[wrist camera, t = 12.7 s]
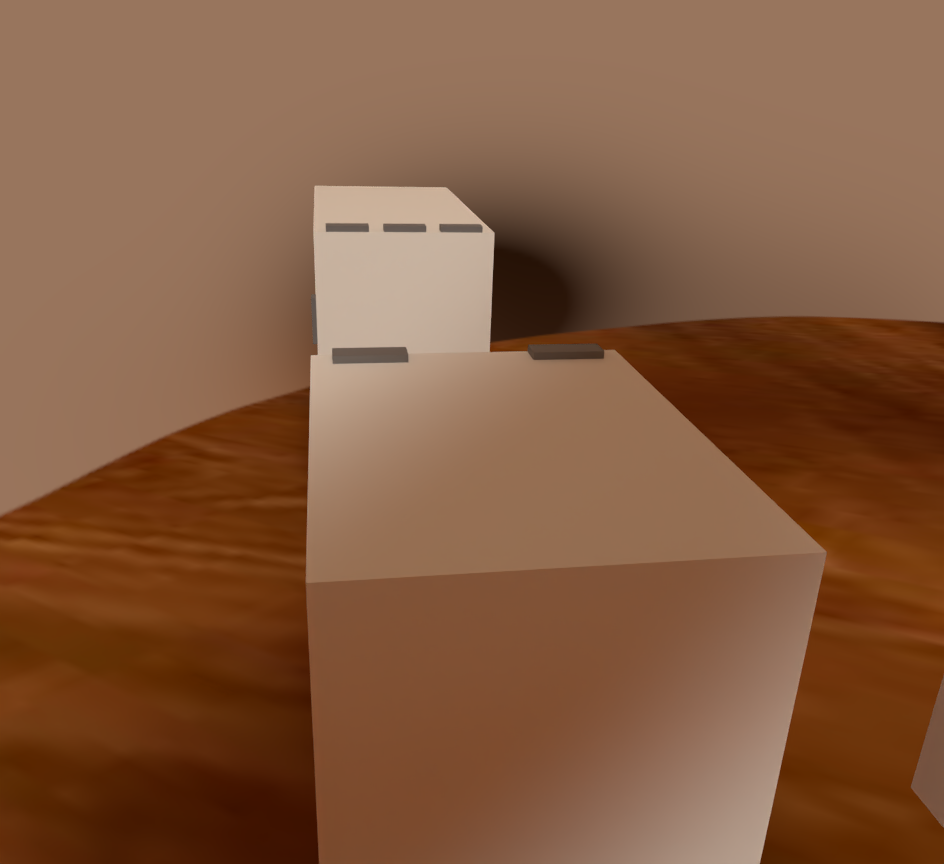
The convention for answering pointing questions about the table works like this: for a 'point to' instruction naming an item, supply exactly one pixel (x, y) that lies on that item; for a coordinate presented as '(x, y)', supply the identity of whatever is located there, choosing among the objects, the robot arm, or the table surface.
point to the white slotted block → (400, 270)
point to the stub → (541, 616)
